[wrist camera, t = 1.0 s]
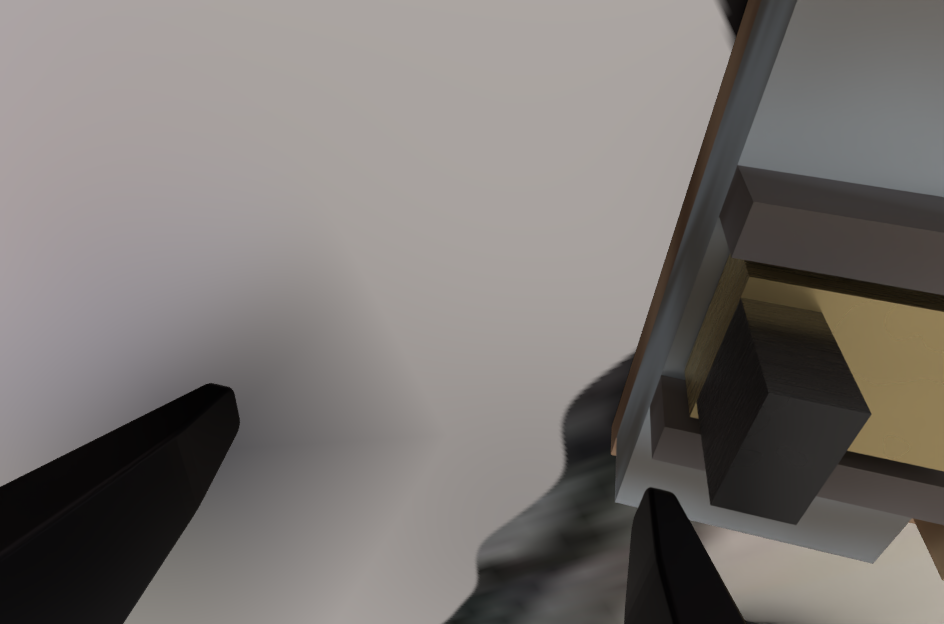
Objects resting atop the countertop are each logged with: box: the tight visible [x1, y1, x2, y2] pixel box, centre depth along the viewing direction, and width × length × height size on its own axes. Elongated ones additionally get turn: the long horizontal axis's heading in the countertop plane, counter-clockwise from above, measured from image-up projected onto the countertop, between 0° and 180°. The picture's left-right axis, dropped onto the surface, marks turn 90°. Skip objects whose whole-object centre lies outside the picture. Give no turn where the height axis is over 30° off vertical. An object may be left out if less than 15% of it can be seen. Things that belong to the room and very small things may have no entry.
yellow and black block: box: [684, 254, 944, 525], centre depth 12 cm, size 4×6×5 cm, turn 85°
